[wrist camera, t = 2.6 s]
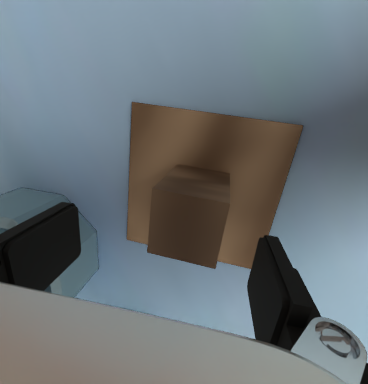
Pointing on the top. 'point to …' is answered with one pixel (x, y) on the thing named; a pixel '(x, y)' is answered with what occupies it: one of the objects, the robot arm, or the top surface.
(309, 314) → the robot arm
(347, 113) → the top surface
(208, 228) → the lid
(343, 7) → the top surface
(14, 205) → the bowl
